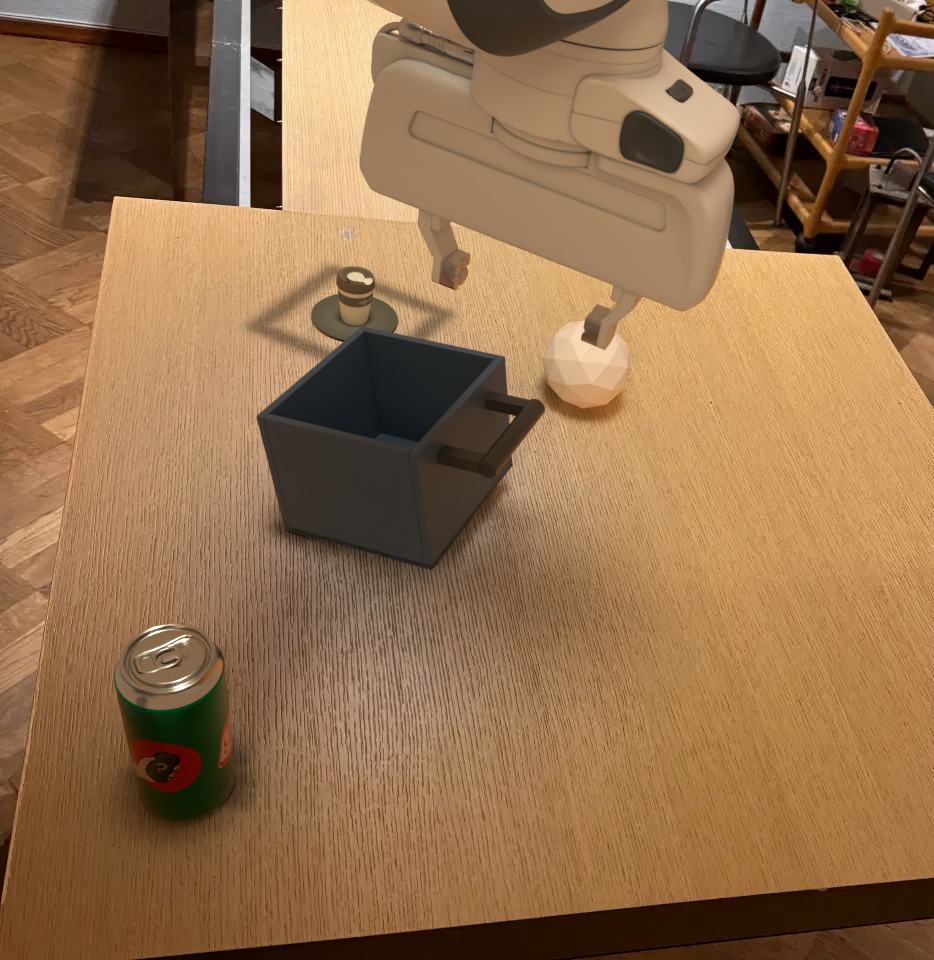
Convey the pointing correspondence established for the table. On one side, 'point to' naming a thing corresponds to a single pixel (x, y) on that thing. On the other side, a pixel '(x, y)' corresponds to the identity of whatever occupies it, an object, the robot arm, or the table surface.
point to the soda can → (176, 720)
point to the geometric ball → (585, 367)
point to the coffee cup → (353, 306)
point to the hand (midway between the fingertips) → (522, 311)
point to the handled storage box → (393, 444)
